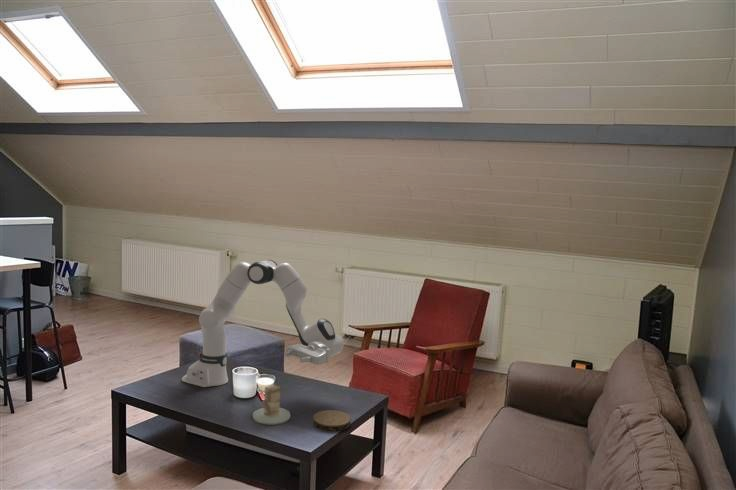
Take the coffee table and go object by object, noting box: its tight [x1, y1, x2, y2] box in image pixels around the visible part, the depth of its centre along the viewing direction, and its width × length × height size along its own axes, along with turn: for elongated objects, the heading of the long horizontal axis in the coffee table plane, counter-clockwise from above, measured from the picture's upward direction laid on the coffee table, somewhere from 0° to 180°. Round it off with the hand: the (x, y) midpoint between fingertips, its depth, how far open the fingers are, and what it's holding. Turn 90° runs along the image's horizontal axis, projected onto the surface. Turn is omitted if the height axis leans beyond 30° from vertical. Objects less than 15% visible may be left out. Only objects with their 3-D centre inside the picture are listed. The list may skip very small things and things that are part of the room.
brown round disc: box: [312, 409, 352, 433], centre depth 253 cm, size 16×16×3 cm
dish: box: [252, 407, 291, 426], centre depth 256 cm, size 16×16×1 cm
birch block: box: [263, 384, 281, 417], centre depth 255 cm, size 5×5×12 cm
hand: (293, 357), depth 263 cm, fingers open, 8 cm apart
